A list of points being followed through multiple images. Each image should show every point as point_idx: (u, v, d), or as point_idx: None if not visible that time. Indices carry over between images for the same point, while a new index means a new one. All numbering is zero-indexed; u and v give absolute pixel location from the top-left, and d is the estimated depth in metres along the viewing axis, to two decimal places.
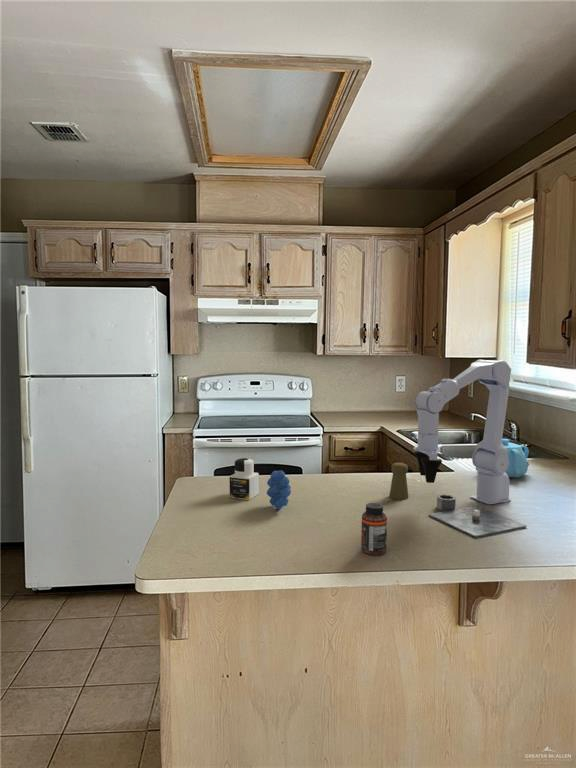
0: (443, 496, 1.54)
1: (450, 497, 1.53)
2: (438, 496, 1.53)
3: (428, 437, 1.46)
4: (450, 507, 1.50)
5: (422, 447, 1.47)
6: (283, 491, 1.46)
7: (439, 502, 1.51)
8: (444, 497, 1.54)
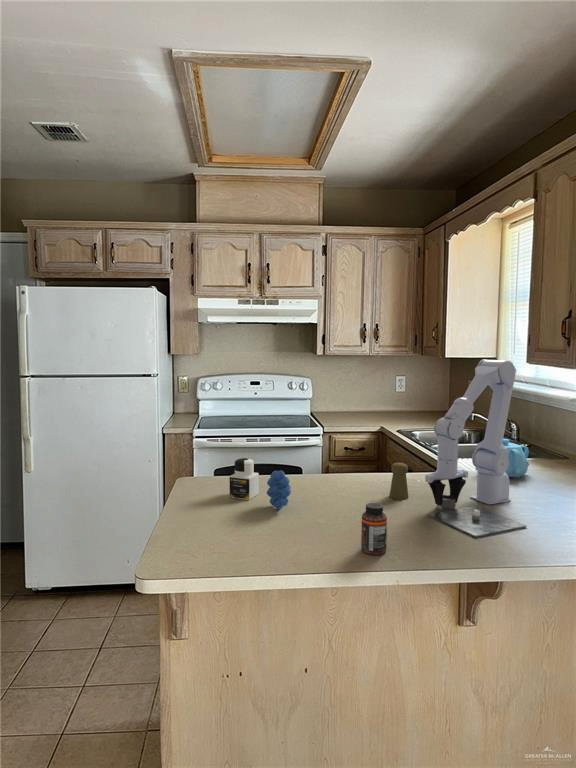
0: (443, 496, 1.54)
1: (450, 497, 1.53)
2: None
3: (438, 461, 1.50)
4: (450, 507, 1.50)
5: None
6: (283, 491, 1.46)
7: None
8: (444, 497, 1.54)
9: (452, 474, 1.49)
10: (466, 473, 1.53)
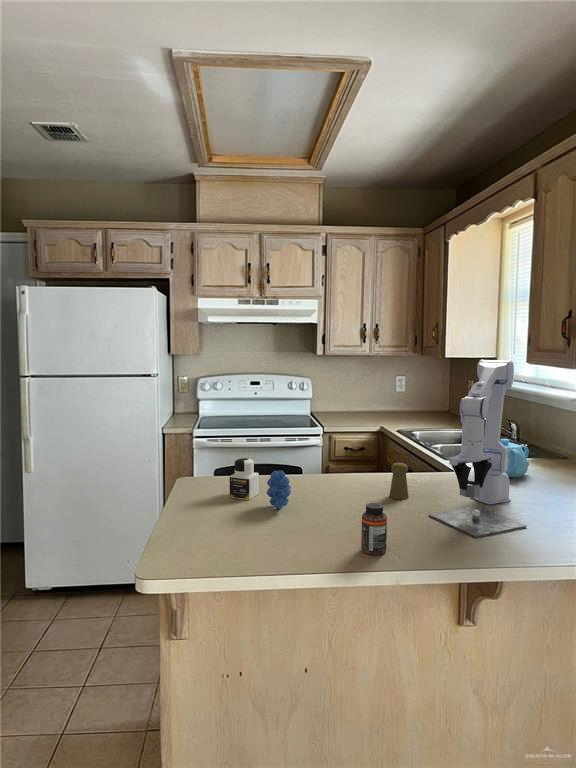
0: None
1: (474, 483, 1.44)
2: None
3: (463, 443, 1.41)
4: (474, 493, 1.40)
5: (461, 452, 1.43)
6: (283, 491, 1.46)
7: None
8: None
9: (478, 456, 1.39)
10: (492, 456, 1.44)
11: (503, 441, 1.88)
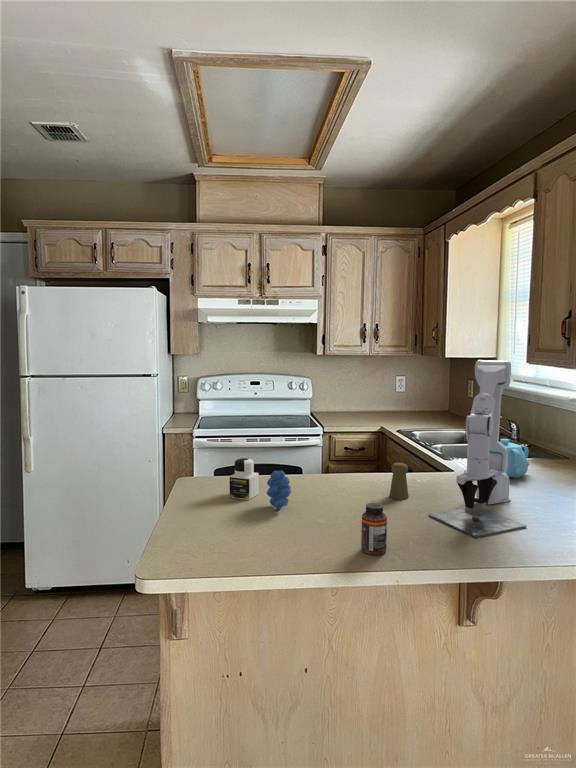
0: None
1: (479, 500, 1.42)
2: None
3: (469, 461, 1.39)
4: (481, 511, 1.39)
5: (466, 470, 1.41)
6: (283, 491, 1.46)
7: None
8: None
9: (485, 474, 1.38)
10: (496, 473, 1.43)
11: (503, 441, 1.88)
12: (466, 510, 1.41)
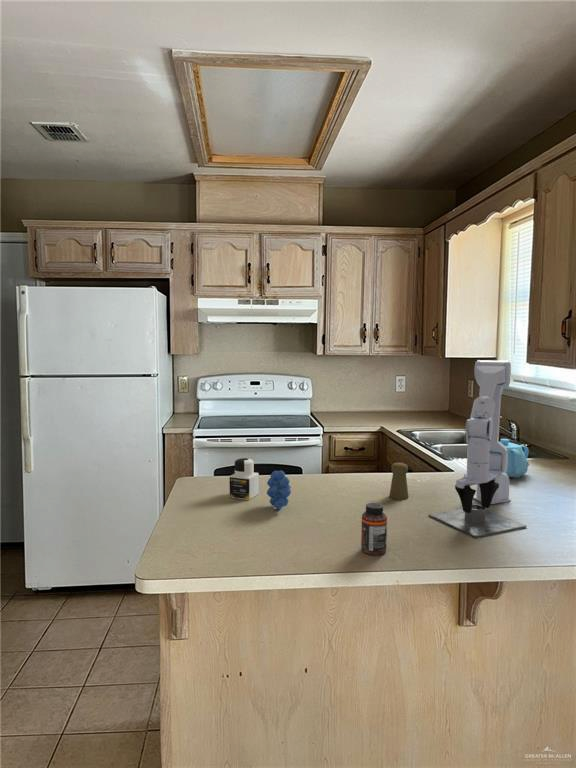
0: None
1: (478, 506, 1.43)
2: None
3: (469, 465, 1.39)
4: (481, 518, 1.39)
5: (466, 474, 1.41)
6: (283, 491, 1.46)
7: None
8: (472, 507, 1.43)
9: (484, 478, 1.38)
10: (496, 476, 1.43)
11: (503, 441, 1.88)
12: (466, 517, 1.41)
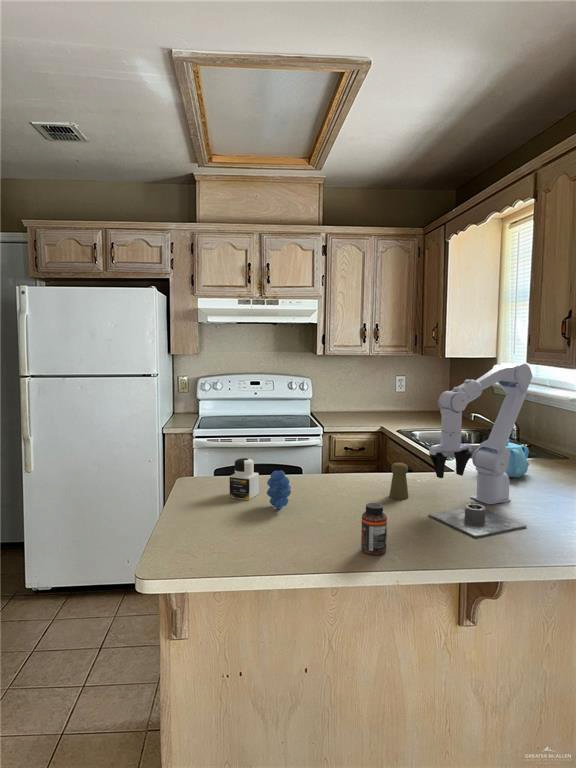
0: (471, 506, 1.43)
1: (478, 506, 1.43)
2: (466, 506, 1.42)
3: (442, 434, 1.51)
4: (481, 518, 1.39)
5: None
6: (283, 491, 1.46)
7: (468, 512, 1.40)
8: (472, 507, 1.43)
9: (456, 446, 1.50)
10: (470, 446, 1.54)
11: None
12: (466, 517, 1.41)
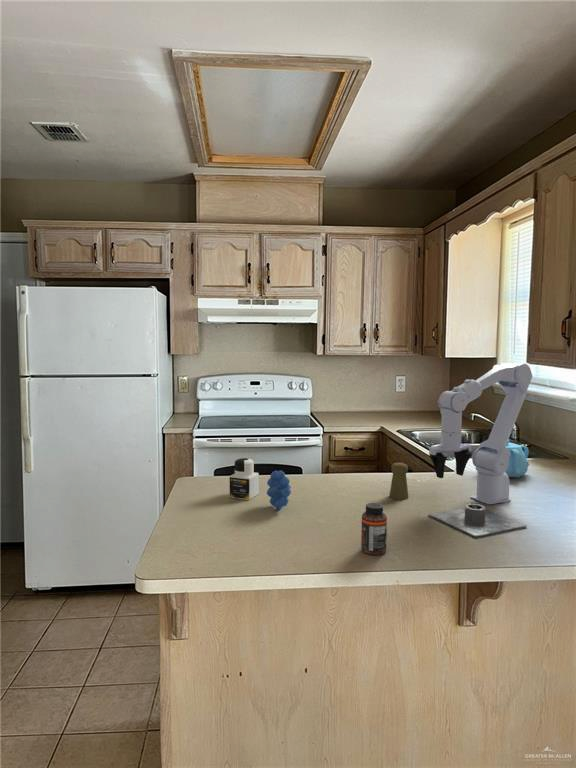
0: (471, 506, 1.43)
1: (478, 506, 1.43)
2: (466, 506, 1.42)
3: (442, 434, 1.51)
4: (481, 518, 1.39)
5: None
6: (283, 491, 1.46)
7: (468, 512, 1.40)
8: (472, 507, 1.43)
9: (456, 446, 1.50)
10: (470, 446, 1.54)
11: None
12: (466, 517, 1.41)
